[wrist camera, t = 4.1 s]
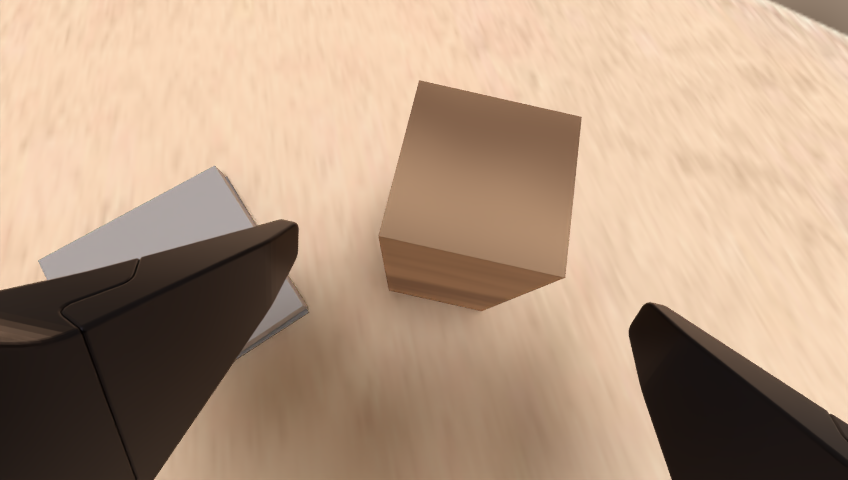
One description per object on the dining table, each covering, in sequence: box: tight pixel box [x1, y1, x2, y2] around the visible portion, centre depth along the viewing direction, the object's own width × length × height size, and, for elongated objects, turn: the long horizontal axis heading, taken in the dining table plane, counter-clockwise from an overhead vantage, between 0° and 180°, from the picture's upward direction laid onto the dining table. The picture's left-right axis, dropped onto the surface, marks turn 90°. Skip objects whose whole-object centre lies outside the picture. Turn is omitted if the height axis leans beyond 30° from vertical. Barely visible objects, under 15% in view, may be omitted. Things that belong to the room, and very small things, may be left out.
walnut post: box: [379, 80, 582, 311], centre depth 15 cm, size 5×5×10 cm
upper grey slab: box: [38, 166, 308, 353], centre depth 18 cm, size 9×9×1 cm
